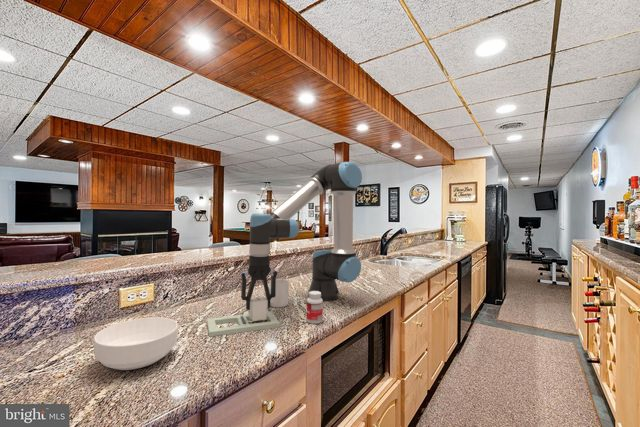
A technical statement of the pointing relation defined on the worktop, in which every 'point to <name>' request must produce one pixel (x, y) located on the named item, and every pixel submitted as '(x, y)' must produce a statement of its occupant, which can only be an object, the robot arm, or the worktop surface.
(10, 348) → the worktop surface
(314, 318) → the pill bottle
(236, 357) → the worktop surface
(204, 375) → the worktop surface
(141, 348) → the bowl
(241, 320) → the faceplate
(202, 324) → the worktop surface
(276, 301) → the mug
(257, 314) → the block
